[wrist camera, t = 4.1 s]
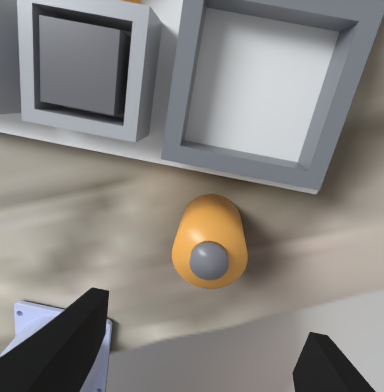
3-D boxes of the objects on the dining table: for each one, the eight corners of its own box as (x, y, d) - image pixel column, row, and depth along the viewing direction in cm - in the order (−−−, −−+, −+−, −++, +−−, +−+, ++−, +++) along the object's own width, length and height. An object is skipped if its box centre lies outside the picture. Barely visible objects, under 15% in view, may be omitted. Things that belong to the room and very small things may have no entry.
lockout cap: (233, 253, 19) (238, 302, 15) (177, 241, 19) (165, 287, 15) (247, 200, 18) (257, 237, 13) (187, 188, 18) (176, 221, 13)
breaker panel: (303, 181, 17) (335, 212, 12) (-37, 114, 18) (-130, 120, 13) (366, -9, 14) (444, -64, 9) (-59, -85, 14) (-197, -176, 9)
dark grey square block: (131, 112, 14) (113, 115, 12) (70, 100, 14) (40, 101, 12) (137, 42, 13) (120, 30, 11) (71, 29, 13) (39, 14, 11)
